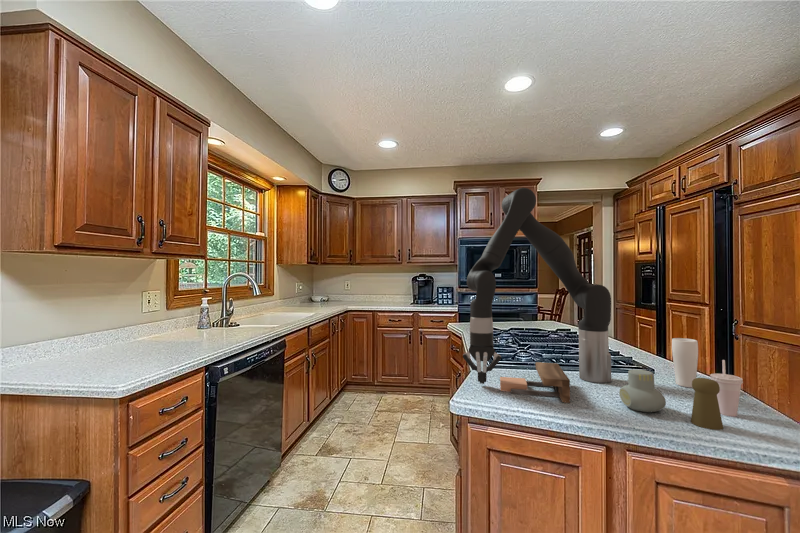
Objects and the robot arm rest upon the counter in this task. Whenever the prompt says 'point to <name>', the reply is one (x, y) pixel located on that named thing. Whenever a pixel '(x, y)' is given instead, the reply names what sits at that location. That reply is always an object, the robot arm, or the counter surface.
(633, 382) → the air freshener
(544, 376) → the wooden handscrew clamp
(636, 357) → the counter surface
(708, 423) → the cork
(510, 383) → the light orange flat block
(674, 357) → the drinking glass
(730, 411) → the smoothie
